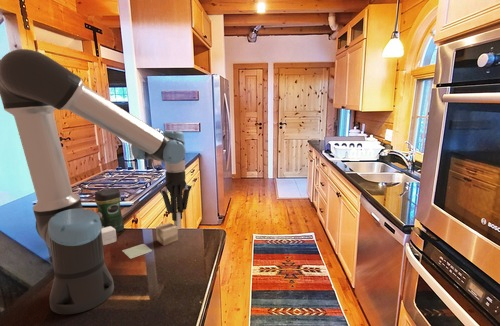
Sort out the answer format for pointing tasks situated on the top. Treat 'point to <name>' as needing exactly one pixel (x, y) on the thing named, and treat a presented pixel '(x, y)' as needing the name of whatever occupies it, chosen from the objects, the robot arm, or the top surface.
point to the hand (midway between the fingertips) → (177, 227)
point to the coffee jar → (109, 208)
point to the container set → (108, 235)
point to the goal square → (137, 251)
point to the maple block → (167, 234)
